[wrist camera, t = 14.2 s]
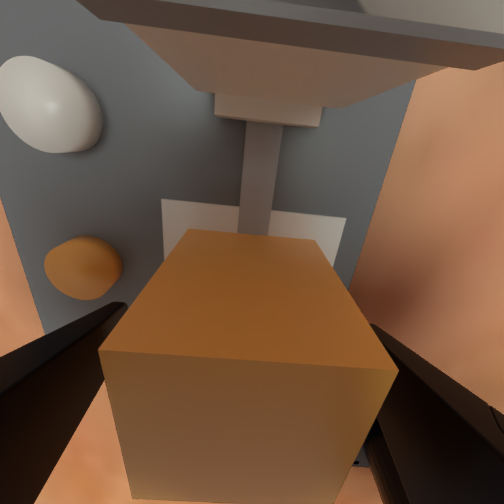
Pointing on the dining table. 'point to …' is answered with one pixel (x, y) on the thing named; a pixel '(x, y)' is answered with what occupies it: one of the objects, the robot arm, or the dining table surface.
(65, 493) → the dining table surface
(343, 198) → the breaker panel
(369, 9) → the lever
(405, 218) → the dining table surface
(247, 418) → the mustard yellow cube
